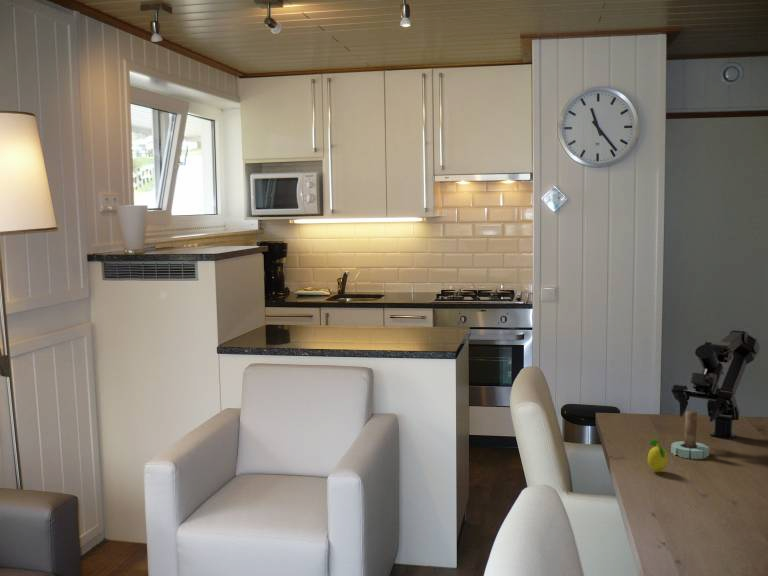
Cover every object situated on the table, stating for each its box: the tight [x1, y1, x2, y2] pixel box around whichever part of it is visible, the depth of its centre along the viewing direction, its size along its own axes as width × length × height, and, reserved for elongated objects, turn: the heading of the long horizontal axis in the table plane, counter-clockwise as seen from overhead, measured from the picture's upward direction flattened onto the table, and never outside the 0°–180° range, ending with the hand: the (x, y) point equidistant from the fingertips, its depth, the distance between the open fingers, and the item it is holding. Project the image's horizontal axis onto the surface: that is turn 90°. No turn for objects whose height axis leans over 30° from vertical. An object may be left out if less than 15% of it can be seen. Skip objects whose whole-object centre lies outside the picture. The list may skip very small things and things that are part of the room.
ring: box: [670, 440, 710, 460], centre depth 255 cm, size 10×10×2 cm
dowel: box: [683, 410, 698, 449], centre depth 255 cm, size 3×3×13 cm
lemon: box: [647, 438, 669, 473], centre depth 237 cm, size 7×6×10 cm
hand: (695, 418), depth 257 cm, fingers open, 9 cm apart
